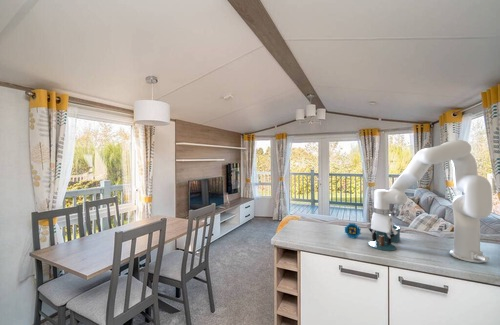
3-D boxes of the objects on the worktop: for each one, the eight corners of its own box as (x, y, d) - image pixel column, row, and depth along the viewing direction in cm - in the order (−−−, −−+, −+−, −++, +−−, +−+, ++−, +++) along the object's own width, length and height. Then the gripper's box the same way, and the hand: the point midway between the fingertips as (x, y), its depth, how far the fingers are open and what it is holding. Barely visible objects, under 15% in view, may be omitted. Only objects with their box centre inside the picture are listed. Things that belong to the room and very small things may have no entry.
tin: (404, 242, 130) (404, 229, 130) (385, 244, 129) (385, 229, 129) (388, 235, 143) (388, 223, 143) (371, 236, 141) (371, 223, 141)
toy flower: (357, 237, 150) (361, 239, 134) (343, 235, 153) (345, 237, 137) (357, 223, 152) (360, 224, 136) (343, 222, 155) (344, 222, 139)
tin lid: (402, 251, 118) (402, 239, 118) (379, 252, 116) (379, 240, 116) (383, 242, 132) (383, 231, 132) (362, 243, 130) (362, 232, 130)
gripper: (401, 213, 119) (401, 245, 120) (368, 208, 133) (368, 236, 133) (396, 215, 115) (396, 249, 115) (363, 209, 129) (363, 239, 129)
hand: (381, 242), depth 124 cm, fingers open, 6 cm apart
